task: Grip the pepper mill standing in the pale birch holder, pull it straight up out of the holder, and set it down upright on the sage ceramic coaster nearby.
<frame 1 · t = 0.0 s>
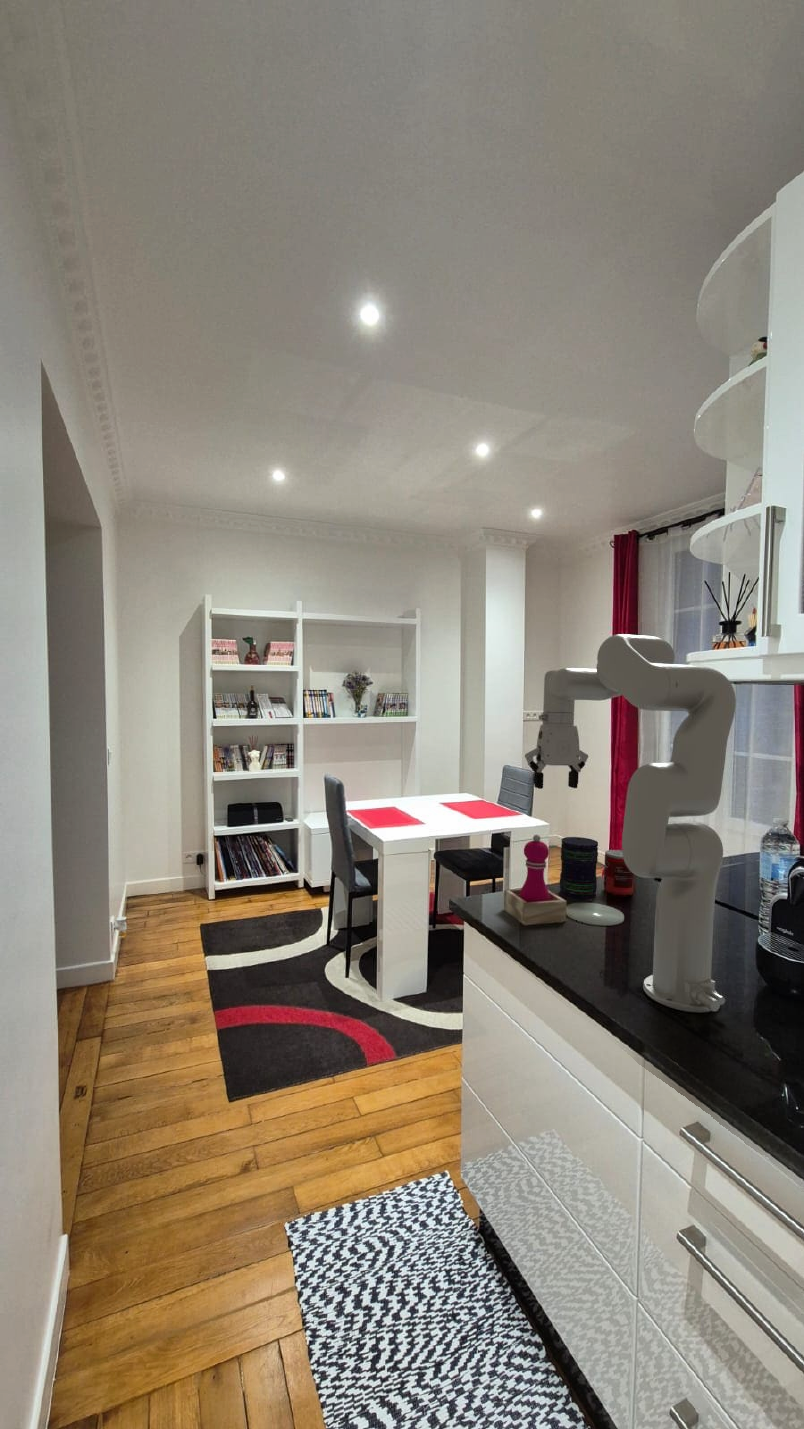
hand: (555, 787, 152), 31 cm above the counter, tool pointing down, fingers open, 9 cm apart
coaster: (593, 915, 151), on the counter
pepper mill: (533, 916, 149), resting in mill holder
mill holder: (534, 915, 149), on the counter
storage jar: (577, 895, 166), on the counter
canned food: (618, 892, 170), on the counter
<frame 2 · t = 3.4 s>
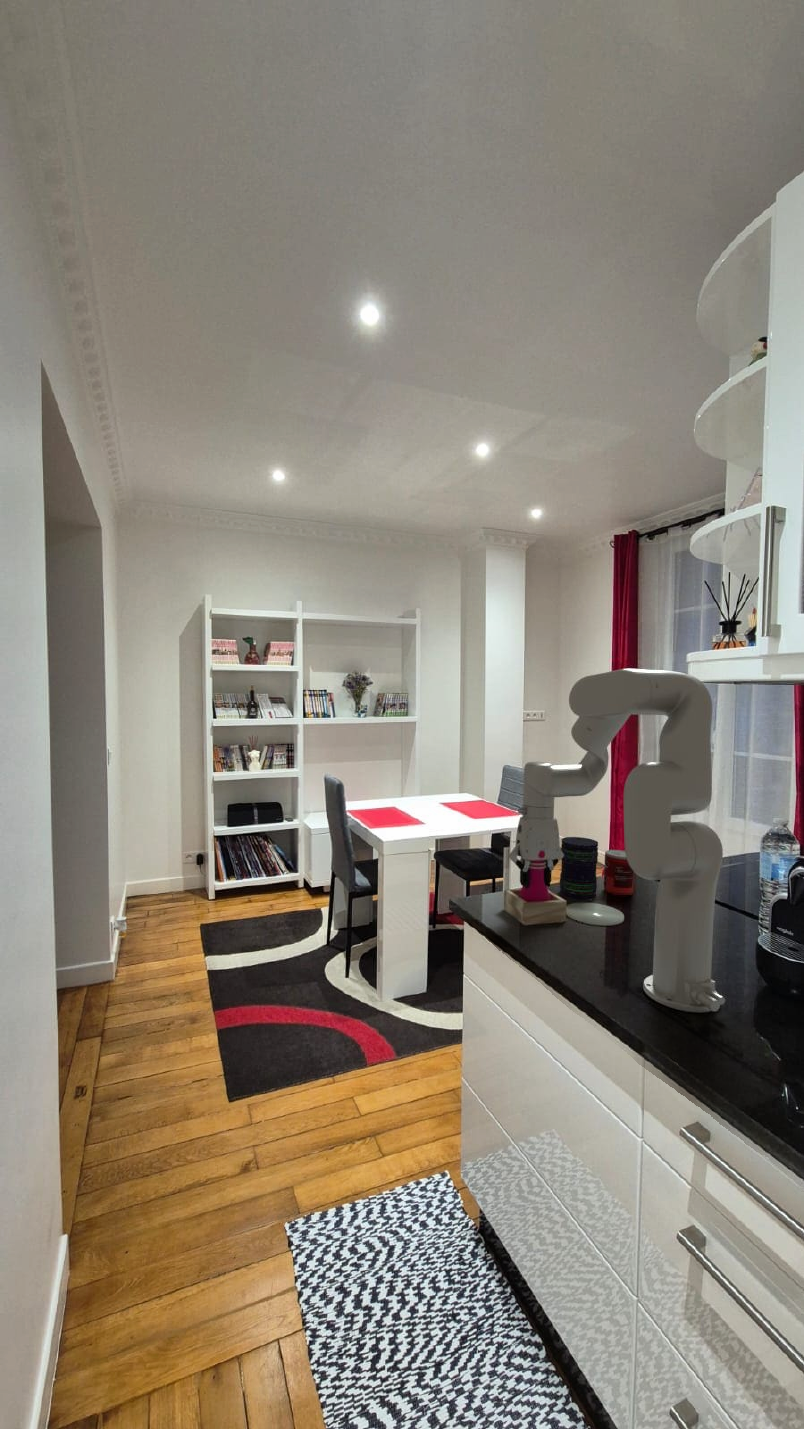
hand: (535, 885, 149), 7 cm above the counter, tool pointing down, fingers closed on pepper mill, 5 cm apart
pepper mill: (533, 916, 149), resting in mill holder, touching gripper
everything else where it was.
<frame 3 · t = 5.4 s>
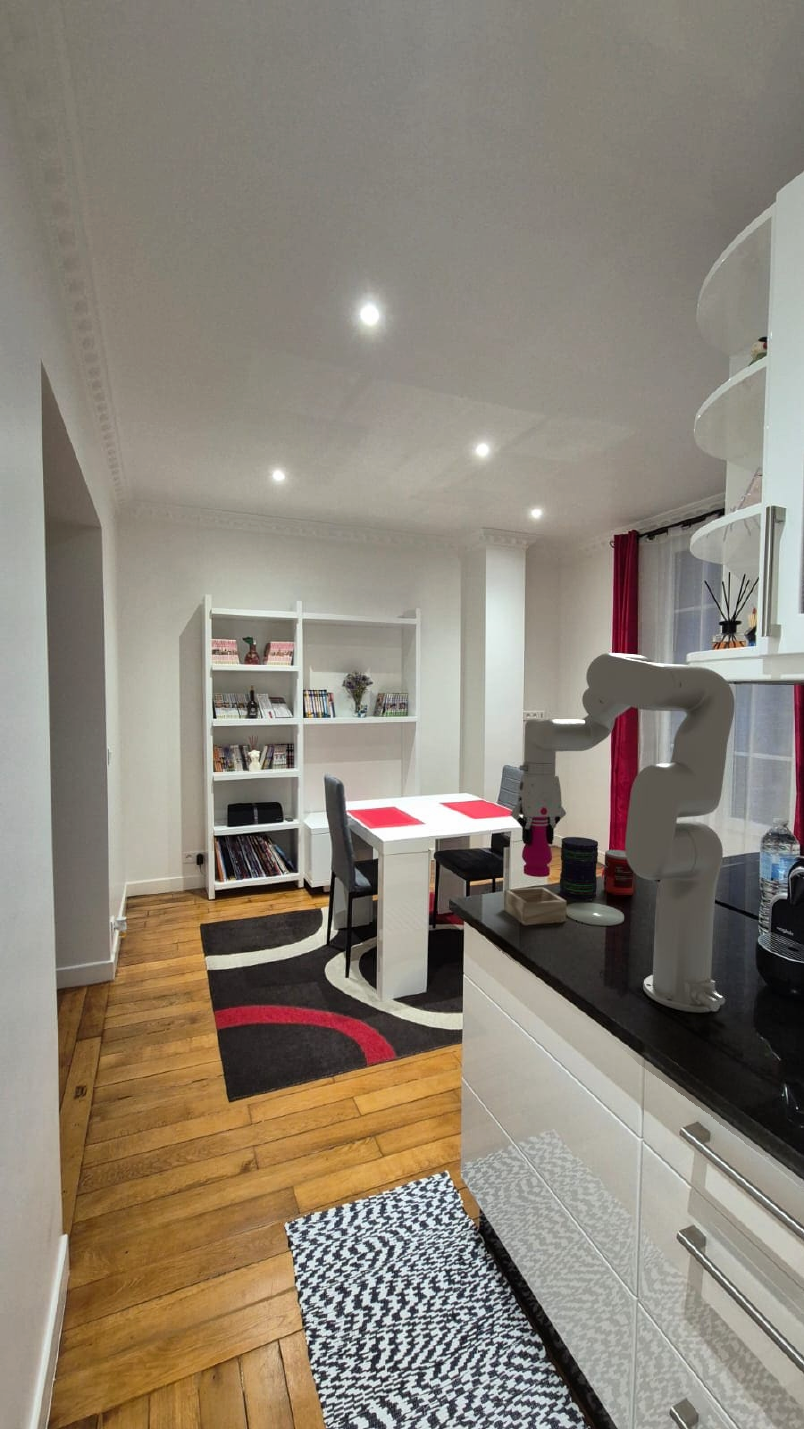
hand: (537, 843, 148), 18 cm above the counter, tool pointing down, fingers closed on pepper mill, 5 cm apart
pepper mill: (536, 874, 148), point 10 cm above the counter, touching gripper
everything else where it was.
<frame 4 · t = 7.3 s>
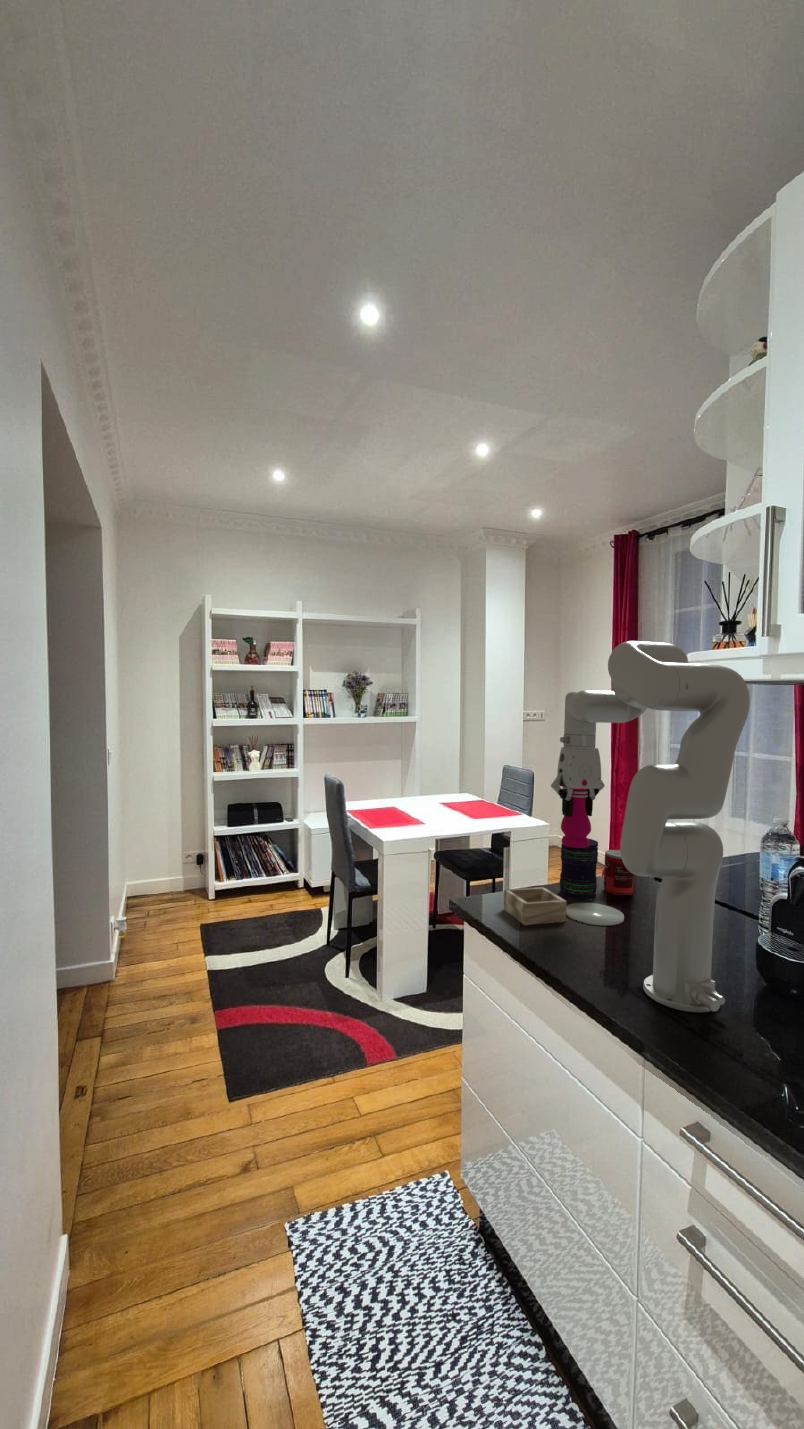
hand: (577, 814, 149), 25 cm above the counter, tool pointing down, fingers closed on pepper mill, 5 cm apart
pepper mill: (575, 846, 149), point 17 cm above the counter, touching gripper
everything else where it was.
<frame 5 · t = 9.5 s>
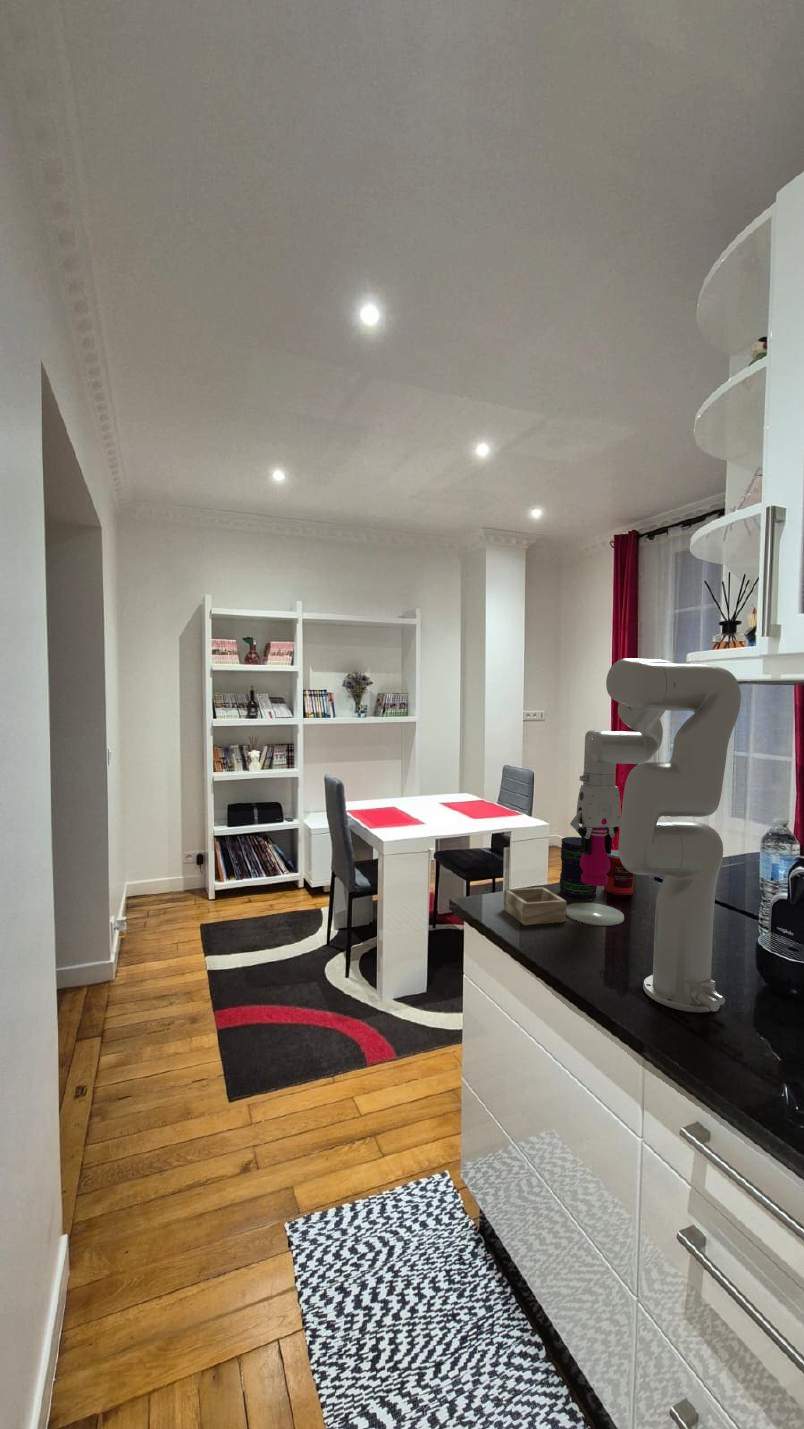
hand: (596, 852, 150), 16 cm above the counter, tool pointing down, fingers closed on pepper mill, 5 cm apart
pepper mill: (594, 883, 150), point 8 cm above the counter, touching gripper
everything else where it was.
when the fingers open (10 cm above the counter, at t = 11.4 s): pepper mill drops 1 cm, resting on coaster.
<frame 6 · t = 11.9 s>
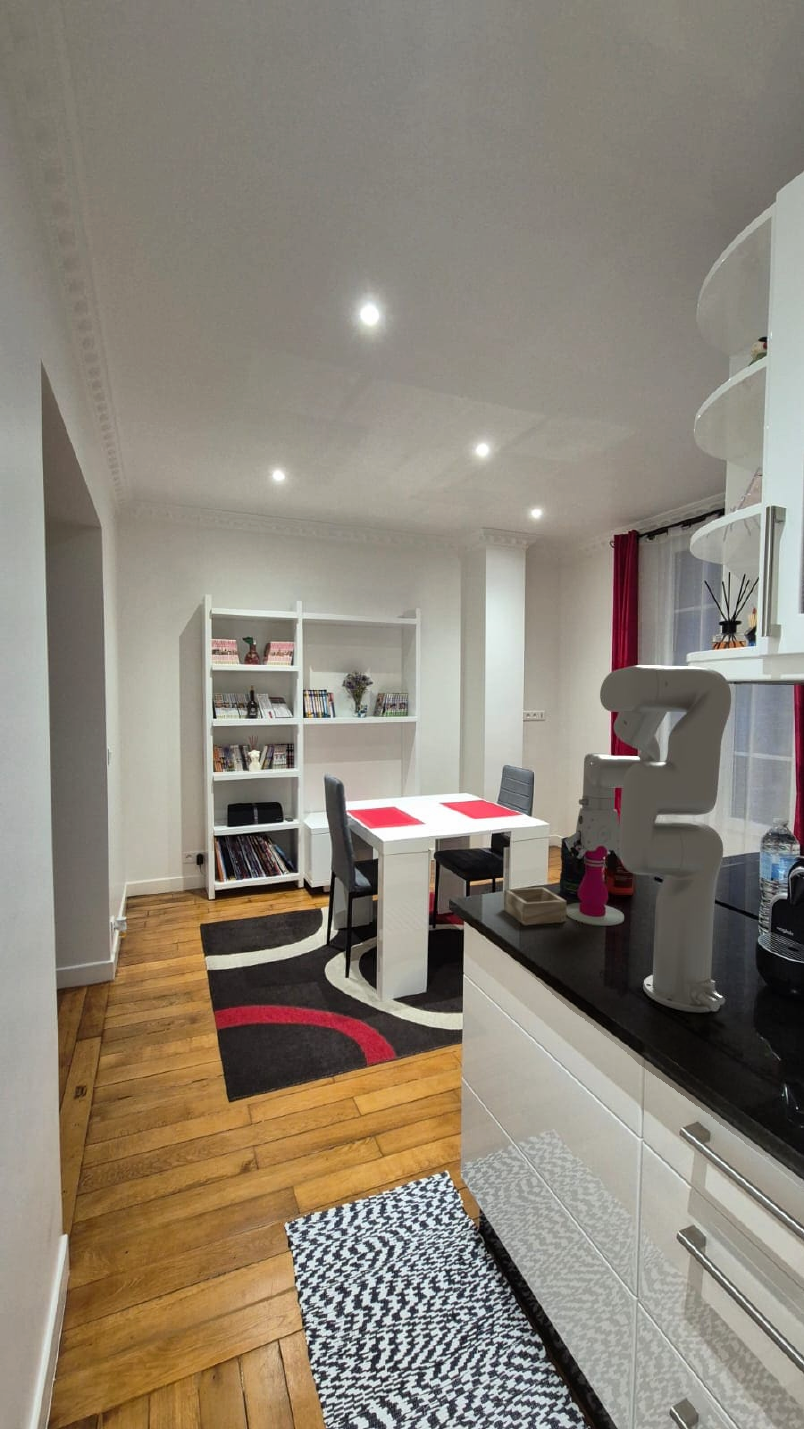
hand: (595, 872, 150), 11 cm above the counter, tool pointing down, fingers open, 9 cm apart
pepper mill: (592, 913, 150), point 1 cm above the counter, touching coaster
everything else where it was.
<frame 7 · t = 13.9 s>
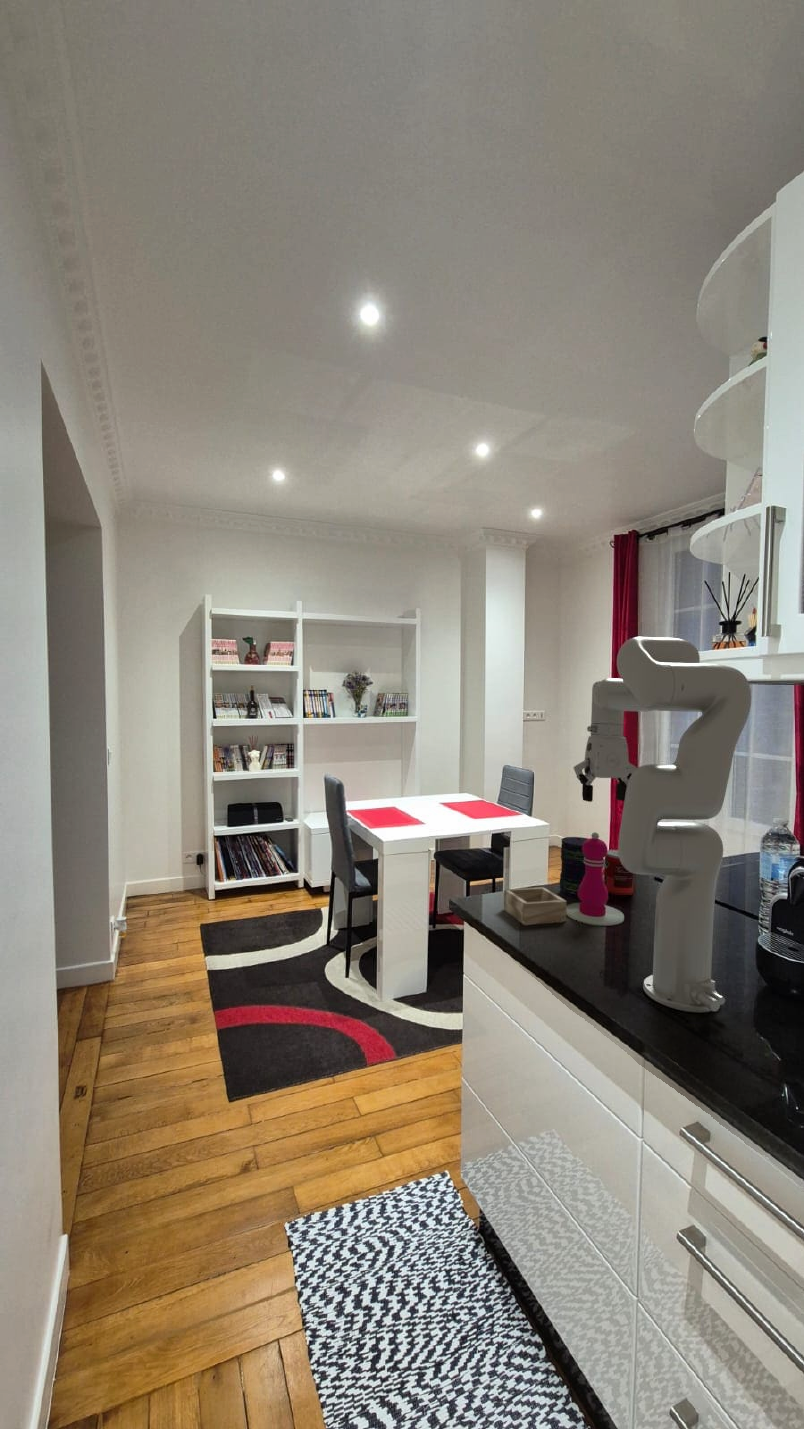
hand: (604, 800, 149), 29 cm above the counter, tool pointing down, fingers open, 9 cm apart
nothing on the counter moved.
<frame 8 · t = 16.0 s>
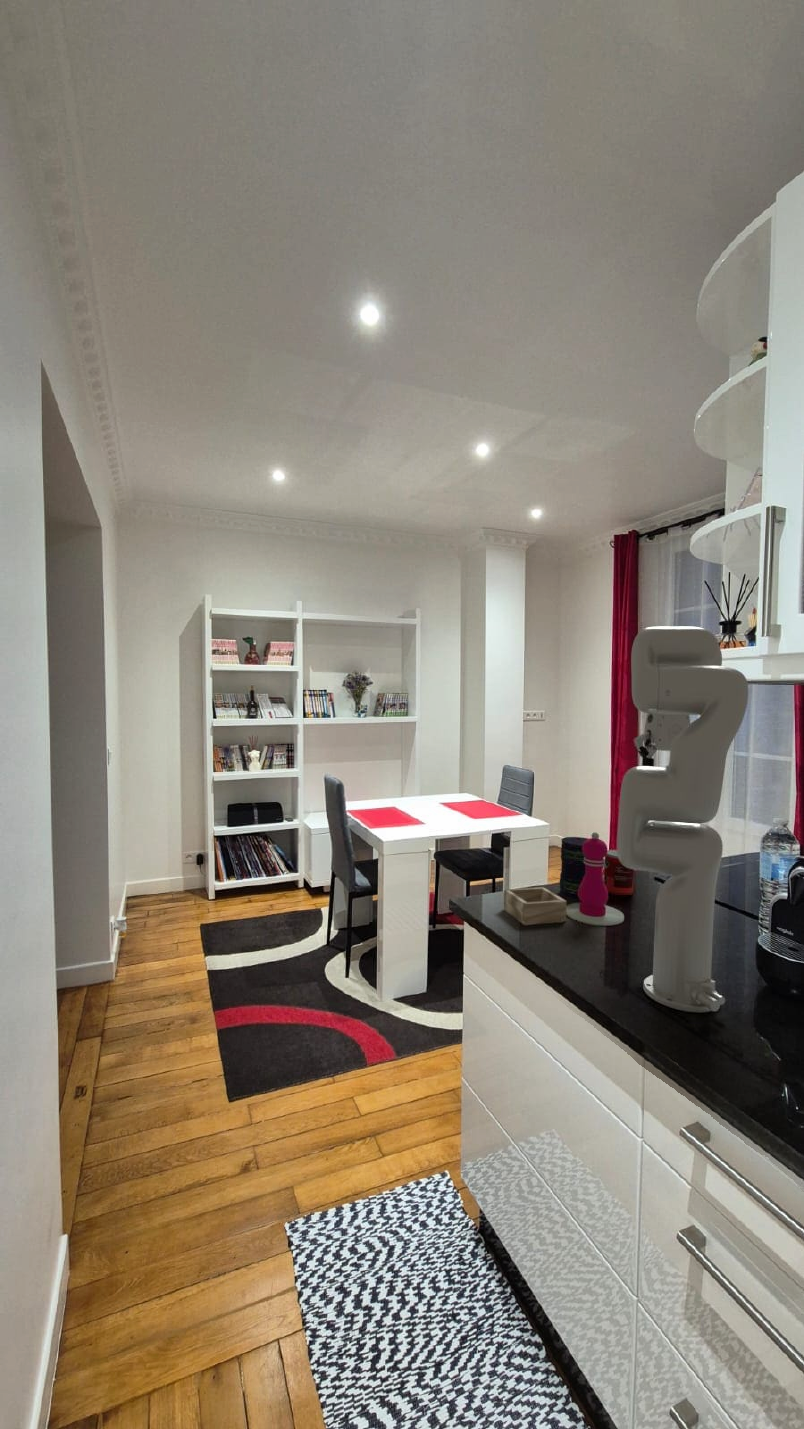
hand: (664, 774, 143), 36 cm above the counter, tool pointing down, fingers open, 9 cm apart
nothing on the counter moved.
at the end: pepper mill inside the target area on the coaster (0.7 cm from its centre), point 0.6 cm above the coaster's base; pepper mill tilted 0°; the gripper is holding nothing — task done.
